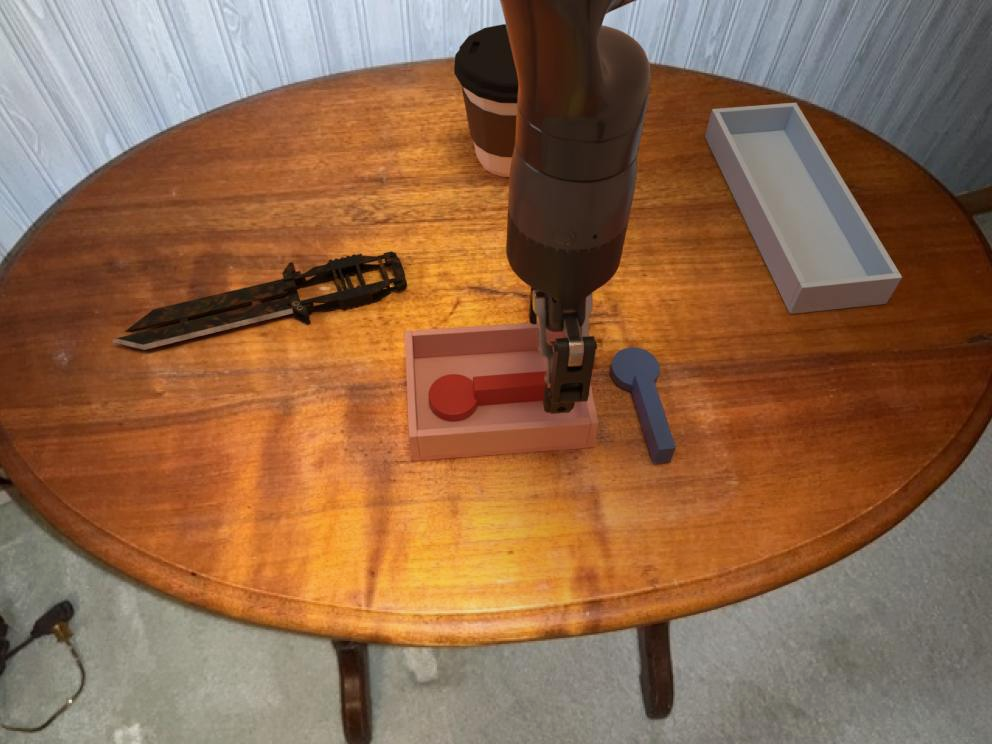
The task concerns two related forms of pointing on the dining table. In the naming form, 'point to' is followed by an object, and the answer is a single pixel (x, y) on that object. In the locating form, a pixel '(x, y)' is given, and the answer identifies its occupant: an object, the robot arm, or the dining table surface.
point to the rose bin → (489, 423)
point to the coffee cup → (490, 95)
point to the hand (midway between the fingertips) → (549, 362)
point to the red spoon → (482, 392)
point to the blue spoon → (645, 398)
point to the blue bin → (799, 210)
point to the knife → (271, 308)
